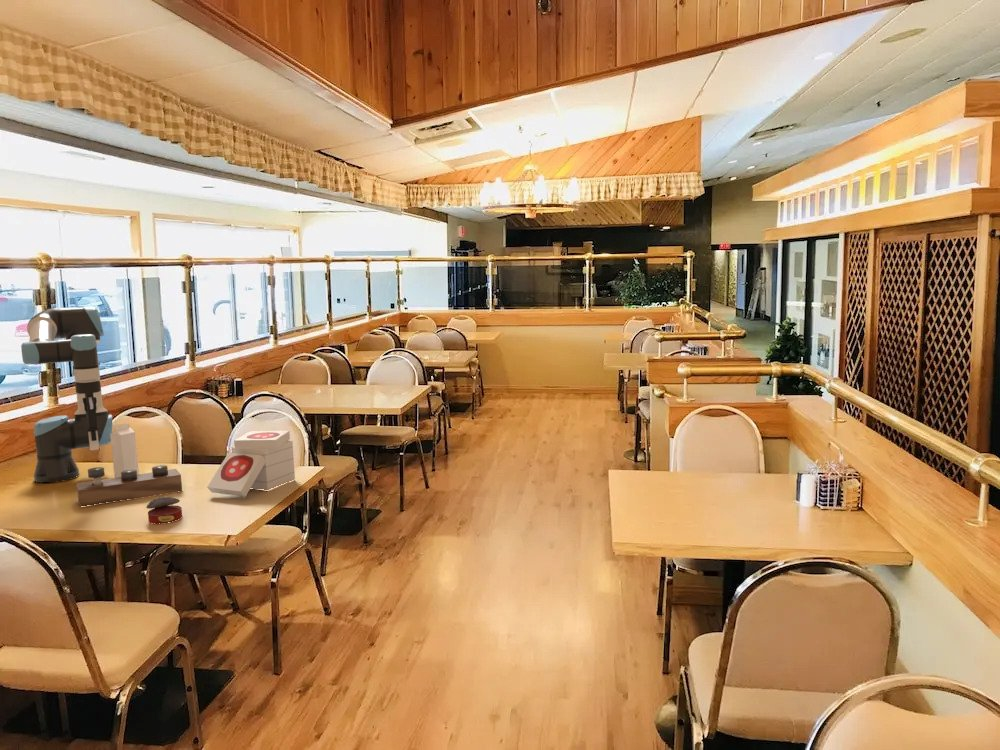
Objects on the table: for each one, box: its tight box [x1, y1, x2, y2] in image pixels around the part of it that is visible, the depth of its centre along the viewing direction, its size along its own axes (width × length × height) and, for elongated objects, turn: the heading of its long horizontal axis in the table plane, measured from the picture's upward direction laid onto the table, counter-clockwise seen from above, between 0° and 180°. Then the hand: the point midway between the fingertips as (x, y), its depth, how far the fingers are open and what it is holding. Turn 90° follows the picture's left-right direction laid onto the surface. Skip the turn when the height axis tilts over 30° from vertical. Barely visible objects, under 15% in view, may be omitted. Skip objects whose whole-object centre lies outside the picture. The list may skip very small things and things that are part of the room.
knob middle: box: [121, 470, 137, 481], centre depth 274 cm, size 5×5×7 cm
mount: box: [76, 468, 183, 508], centre depth 274 cm, size 10×32×6 cm, turn 121°
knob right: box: [151, 464, 169, 476], centre depth 279 cm, size 5×5×7 cm
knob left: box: [87, 466, 106, 486], centre depth 269 cm, size 5×5×7 cm
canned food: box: [145, 496, 183, 525], centre depth 248 cm, size 11×10×10 cm
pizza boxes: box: [206, 430, 296, 497], centre depth 279 cm, size 19×30×18 cm, turn 156°
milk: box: [110, 422, 140, 478], centre depth 291 cm, size 6×6×22 cm
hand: (94, 449), depth 267 cm, fingers closed
